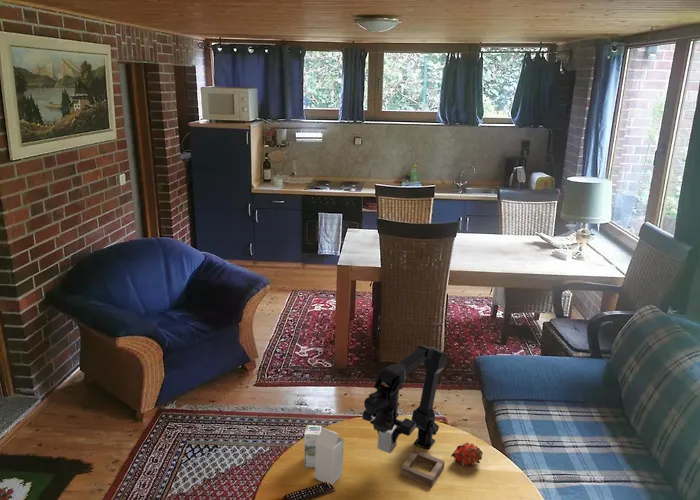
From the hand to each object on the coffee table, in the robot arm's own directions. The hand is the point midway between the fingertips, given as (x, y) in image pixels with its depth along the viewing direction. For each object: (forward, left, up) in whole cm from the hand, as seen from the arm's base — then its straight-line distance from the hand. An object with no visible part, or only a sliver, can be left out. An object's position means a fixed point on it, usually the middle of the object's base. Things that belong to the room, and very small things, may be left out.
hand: (387, 440), depth 198 cm
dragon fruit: (-19, +24, -12) cm, 33 cm away
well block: (-6, +12, -12) cm, 18 cm away
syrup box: (+12, -24, -12) cm, 29 cm away
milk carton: (+15, -15, -12) cm, 24 cm away
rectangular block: (0, 0, -3) cm, 3 cm away
